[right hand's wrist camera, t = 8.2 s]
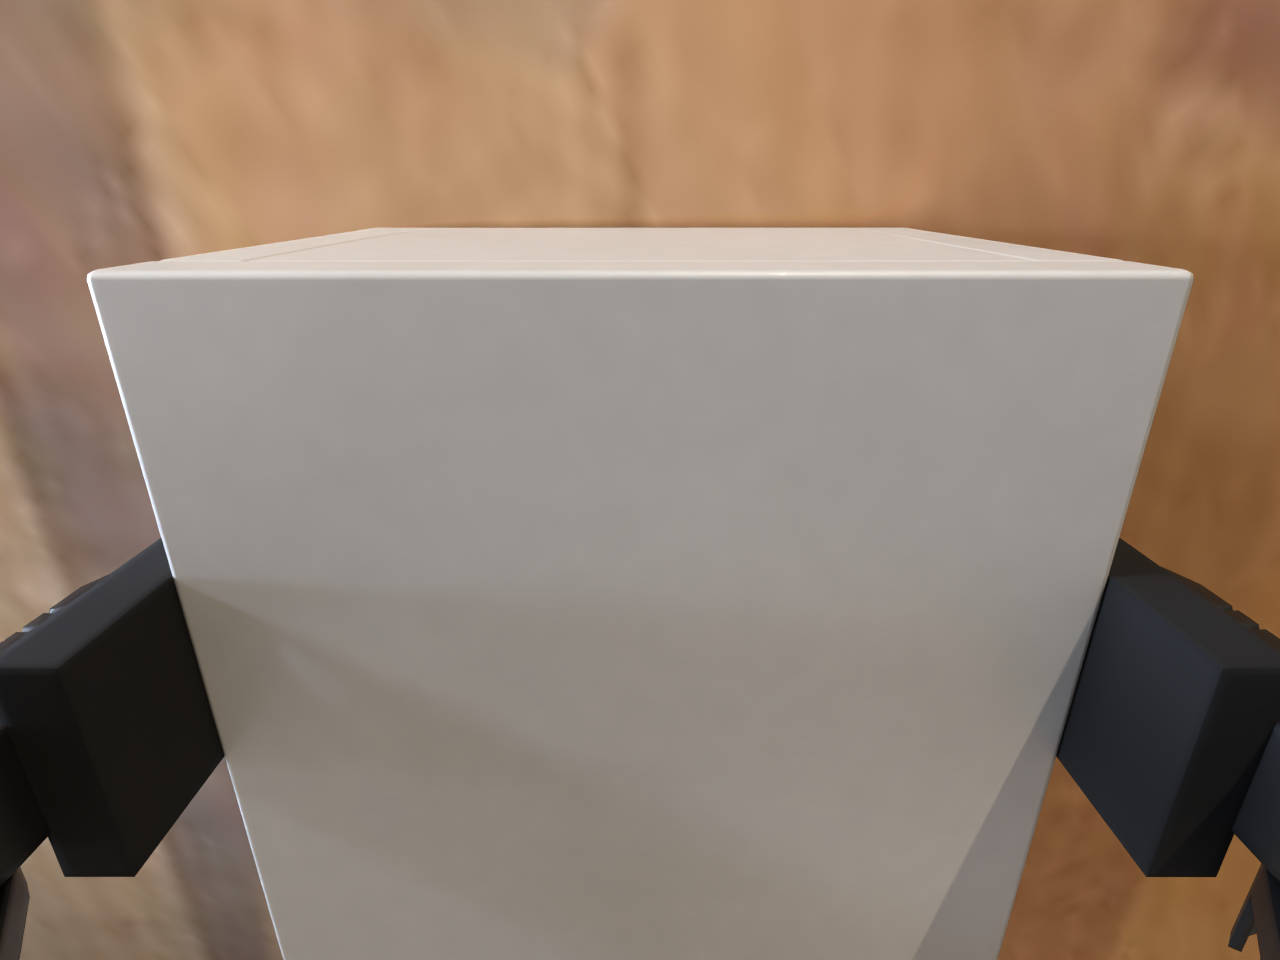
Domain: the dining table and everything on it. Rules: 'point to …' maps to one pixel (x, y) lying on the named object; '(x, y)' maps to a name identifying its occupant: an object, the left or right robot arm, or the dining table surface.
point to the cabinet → (640, 572)
